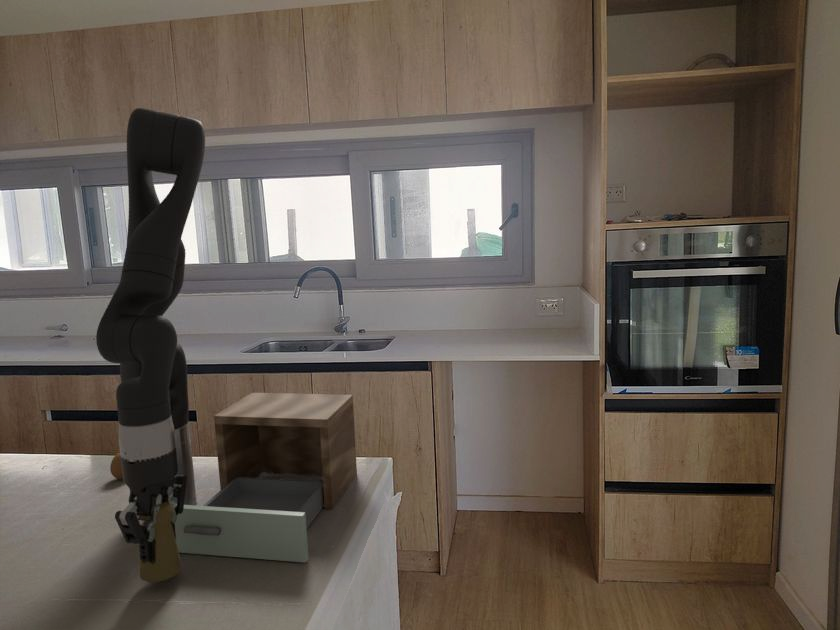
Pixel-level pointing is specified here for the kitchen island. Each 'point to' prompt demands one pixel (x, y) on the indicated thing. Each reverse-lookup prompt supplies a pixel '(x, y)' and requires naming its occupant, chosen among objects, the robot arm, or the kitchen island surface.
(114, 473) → the egg
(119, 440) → the robot arm
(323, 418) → the cabinet
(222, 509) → the drawer
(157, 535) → the olive tall rounded piece
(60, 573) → the kitchen island surface
